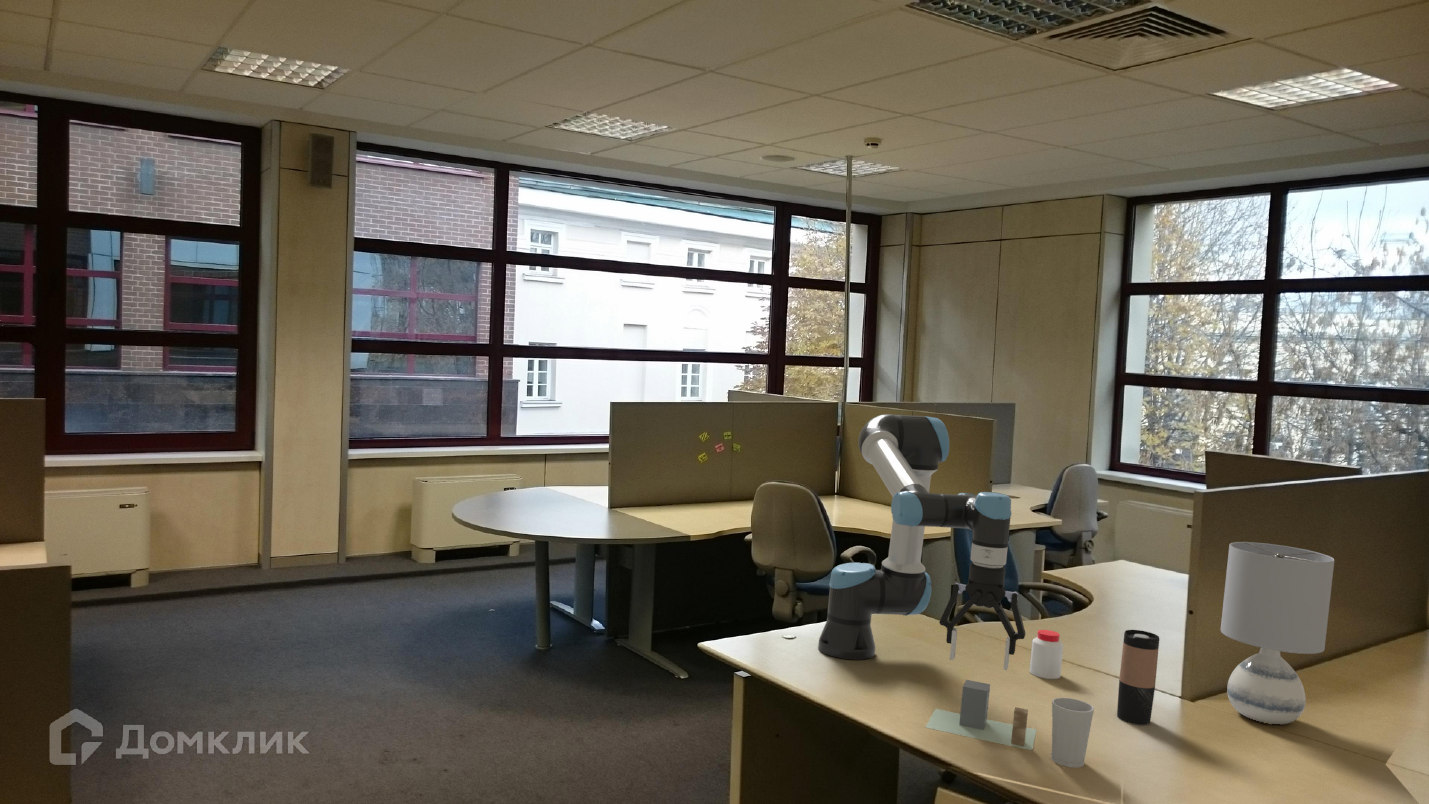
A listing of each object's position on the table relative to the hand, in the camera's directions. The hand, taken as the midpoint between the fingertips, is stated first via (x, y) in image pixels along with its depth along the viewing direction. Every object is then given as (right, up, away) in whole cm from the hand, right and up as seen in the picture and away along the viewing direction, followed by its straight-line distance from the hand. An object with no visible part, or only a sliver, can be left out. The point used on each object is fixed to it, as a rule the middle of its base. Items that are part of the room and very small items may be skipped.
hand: (978, 663), depth 214 cm
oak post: (+6, -14, -9) cm, 18 cm away
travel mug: (+39, -16, +12) cm, 44 cm away
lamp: (+74, -19, +20) cm, 78 cm away
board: (0, -14, -2) cm, 14 cm away
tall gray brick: (-1, -13, +1) cm, 13 cm away
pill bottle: (+29, -14, +42) cm, 52 cm away
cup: (+14, -16, -16) cm, 26 cm away
